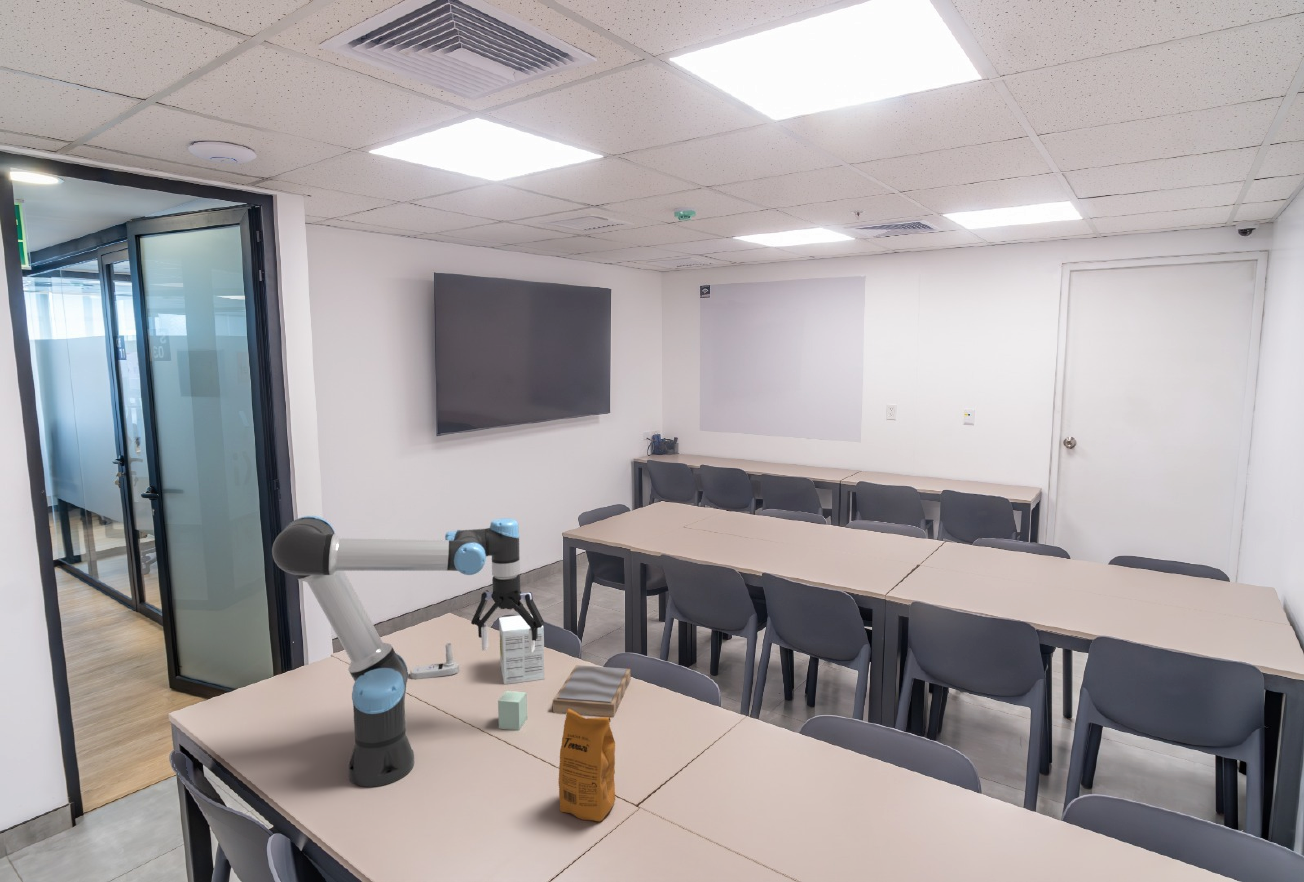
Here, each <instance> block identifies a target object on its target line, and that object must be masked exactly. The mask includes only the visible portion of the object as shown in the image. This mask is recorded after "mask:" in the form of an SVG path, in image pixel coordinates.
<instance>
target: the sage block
mask: <svg viewBox="0 0 1304 882" xmlns="http://www.w3.org/2000/svg"><path fill="white" fill-rule="evenodd" d="M527 701H528V699H527V692H524V691H513V690H505V692H504V693H503V694H502V696H500V698H499V699H498V700H497V707H498V709H497V710H498V713H497V714H498V729H502V730H512V731H513V730H514V731H521V729H522V728H523V726H524V724H525V723H526V722H527V720H528V703H527Z"/></svg>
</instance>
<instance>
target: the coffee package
mask: <svg viewBox="0 0 1304 882" xmlns="http://www.w3.org/2000/svg"><path fill="white" fill-rule="evenodd" d="M565 716H566V717H565V720H564V725H563V732H562V738H561V746H560V750H559V751H560V752H559V766H558V767H559V768H558V797H559V799H558V800H559V812H561V813H566V814H572V815H573V816H575V817H576V818H578V819H579V820H582V821H594V822H601V821H604V820H605V817H606V816H607V815H608V814H609V812H610V811H611V810H612V809H613V806H614V805H615V801H616V785H615V773H616V770H615V768H616V767H615V765H616V754H615V753H616V740H615V738H614V735H613V732H612V729H611V725H610V724H611V720H612V719H611V717H605V716H599V717H587V718H586V717H584V716H582V715H581V714H577V713H576V712H574V711H572V710H571V709H568V710H567V713H565Z"/></svg>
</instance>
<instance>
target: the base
mask: <svg viewBox="0 0 1304 882" xmlns="http://www.w3.org/2000/svg"><path fill="white" fill-rule="evenodd" d="M631 671H632V670H631V668H622V667H621V668H620V667H608V666H607V667H605V666H593V665H579V664H576V665H575V666H574V668H573V669H572V671H571V672H570V673H569V675H568V677H567V678H566V680H565V681H564V683H563V684H562V685H561V687H560V689H559V690H558V692H557V693H556V695H555V696H554V698H553V699H552V712H553V713H558V714H567V710H568V709H571V710H572V711H574V712H576V713H577V714H579V715H581V716H582V715H583V716H592V717H593V716H594V717H595V716H596V717H610V718H615V716H616V713H617V711H618V709H619V707H620V705H621V702H622V700H623V698H624V695H625V693H626V691H627V689H628V686H630V685H629V684H630V682H631V679H632V678H631V677H632V675H631Z"/></svg>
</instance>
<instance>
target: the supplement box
mask: <svg viewBox="0 0 1304 882" xmlns="http://www.w3.org/2000/svg"><path fill="white" fill-rule="evenodd" d="M529 614H530V615H531V613H529ZM531 616H532V615H531ZM498 624H499V625H498V626H499V629H498V630H499V649H500V650H499V654H500V672H501V677H502V681H503V684H504V685H509V684H517V683H523V682H531V681H538V680H545V637H544V636H545V635H544V634H545V631H544V629H545V628H544V624H543V625H542V627H541V628H538V638H537V639H536V640H535V650H534V651H533V652H532V653H529V629H530V626H529V625H528V624H527V623H526V622H525V620H524V619H523V618H522V617H521V616H520V614H519V615H518V614H517V615H511V616H502V617H499V618H498Z"/></svg>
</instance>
